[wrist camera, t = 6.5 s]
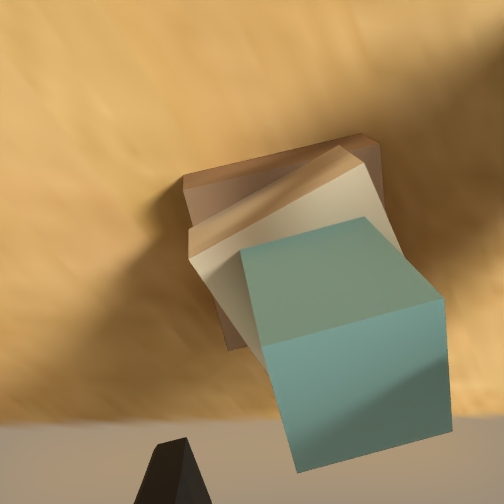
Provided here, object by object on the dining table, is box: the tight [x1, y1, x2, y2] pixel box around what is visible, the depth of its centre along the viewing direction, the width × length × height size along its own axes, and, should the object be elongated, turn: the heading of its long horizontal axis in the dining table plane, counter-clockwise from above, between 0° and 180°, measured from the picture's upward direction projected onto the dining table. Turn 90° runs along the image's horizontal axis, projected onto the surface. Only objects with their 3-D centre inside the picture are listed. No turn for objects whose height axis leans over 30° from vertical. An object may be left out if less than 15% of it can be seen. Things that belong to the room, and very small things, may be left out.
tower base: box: [183, 134, 386, 351], centre depth 18 cm, size 7×7×2 cm
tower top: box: [188, 145, 404, 377], centre depth 16 cm, size 6×6×2 cm
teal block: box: [240, 216, 453, 473], centre depth 13 cm, size 4×4×5 cm
